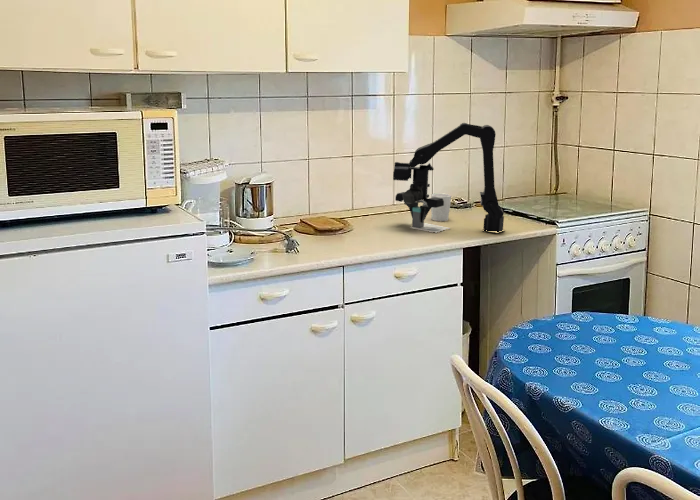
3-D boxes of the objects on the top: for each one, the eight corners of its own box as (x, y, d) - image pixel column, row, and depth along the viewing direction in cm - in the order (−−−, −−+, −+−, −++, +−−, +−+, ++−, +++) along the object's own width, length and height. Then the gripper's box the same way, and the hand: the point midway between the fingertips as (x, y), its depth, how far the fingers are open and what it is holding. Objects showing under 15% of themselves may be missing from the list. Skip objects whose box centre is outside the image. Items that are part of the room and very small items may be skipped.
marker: (424, 226, 294) (425, 207, 292) (419, 228, 291) (420, 208, 289) (416, 225, 296) (417, 206, 294) (411, 226, 293) (412, 207, 291)
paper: (450, 228, 293) (450, 227, 293) (436, 233, 285) (436, 232, 285) (424, 223, 300) (424, 222, 300) (409, 227, 293) (409, 226, 293)
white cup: (450, 222, 305) (452, 197, 302) (430, 221, 305) (432, 196, 302) (448, 217, 312) (450, 193, 310) (429, 217, 312) (430, 192, 310)
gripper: (387, 180, 288) (385, 221, 292) (429, 187, 277) (426, 229, 281) (404, 177, 297) (402, 216, 301) (445, 183, 286) (443, 224, 290)
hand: (418, 221), depth 293 cm, fingers closed on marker, 3 cm apart
